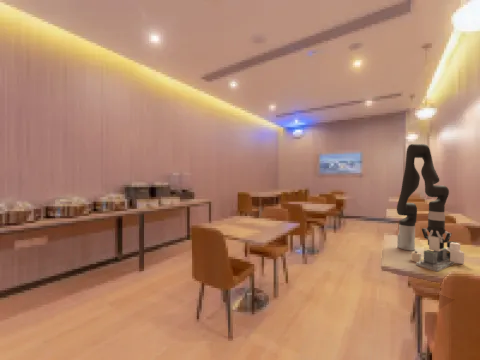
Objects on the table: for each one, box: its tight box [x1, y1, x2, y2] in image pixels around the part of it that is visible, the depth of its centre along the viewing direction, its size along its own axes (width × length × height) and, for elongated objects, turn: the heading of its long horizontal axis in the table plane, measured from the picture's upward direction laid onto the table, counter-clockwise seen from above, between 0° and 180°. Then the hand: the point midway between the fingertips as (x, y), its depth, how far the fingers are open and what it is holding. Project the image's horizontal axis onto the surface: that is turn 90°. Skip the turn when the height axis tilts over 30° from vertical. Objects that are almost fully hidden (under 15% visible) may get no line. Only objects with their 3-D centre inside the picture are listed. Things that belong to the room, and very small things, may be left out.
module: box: [428, 235, 442, 251], centre depth 133 cm, size 4×5×8 cm
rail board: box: [415, 247, 455, 272], centre depth 133 cm, size 10×22×9 cm, turn 118°
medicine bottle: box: [445, 240, 465, 265], centre depth 138 cm, size 7×7×12 cm
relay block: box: [410, 250, 422, 263], centre depth 139 cm, size 4×4×6 cm
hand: (435, 247), depth 133 cm, fingers closed on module, 4 cm apart
